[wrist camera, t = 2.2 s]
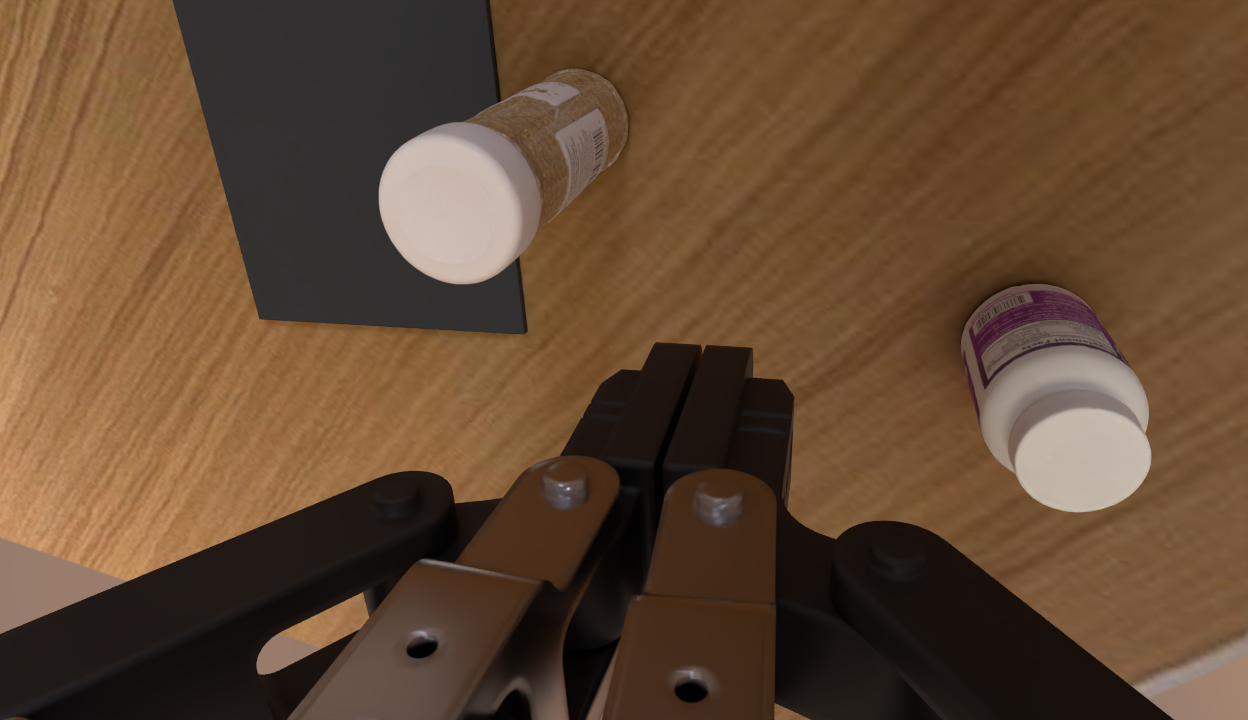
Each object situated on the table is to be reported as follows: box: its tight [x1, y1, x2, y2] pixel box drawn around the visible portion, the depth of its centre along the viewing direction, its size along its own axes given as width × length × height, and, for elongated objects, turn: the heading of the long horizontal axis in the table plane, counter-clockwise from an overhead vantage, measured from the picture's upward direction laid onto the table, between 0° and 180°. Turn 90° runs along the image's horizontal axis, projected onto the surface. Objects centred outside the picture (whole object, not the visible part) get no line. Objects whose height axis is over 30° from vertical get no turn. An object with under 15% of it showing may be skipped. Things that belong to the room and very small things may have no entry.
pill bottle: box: [961, 284, 1151, 512], centre depth 31 cm, size 5×5×10 cm
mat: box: [173, 0, 527, 334], centre depth 38 cm, size 20×15×1 cm
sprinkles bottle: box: [379, 68, 628, 284], centre depth 30 cm, size 5×5×14 cm
